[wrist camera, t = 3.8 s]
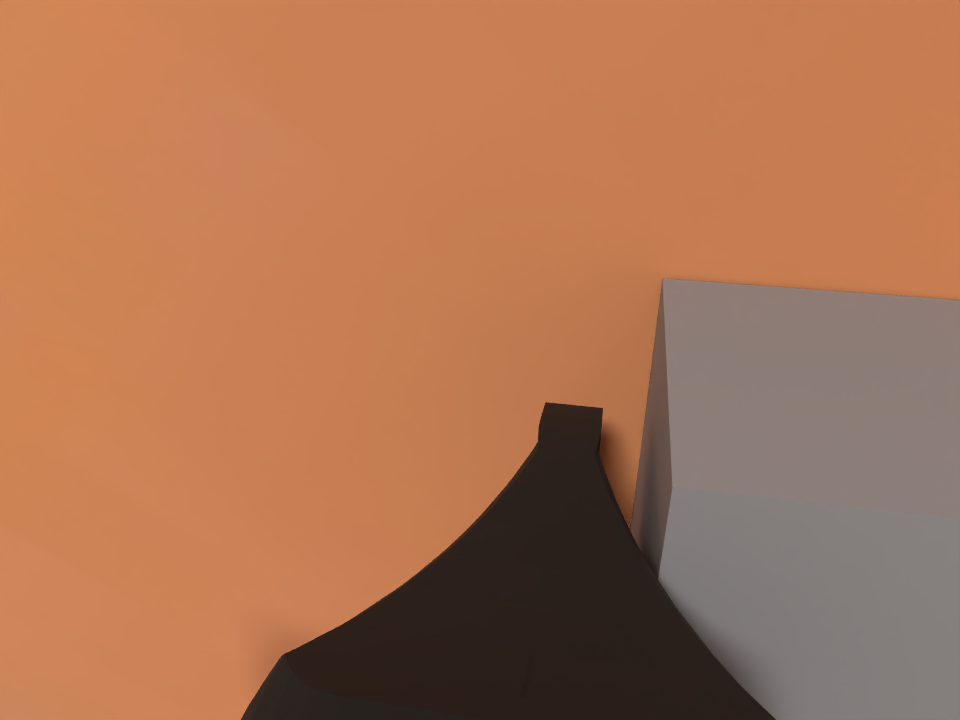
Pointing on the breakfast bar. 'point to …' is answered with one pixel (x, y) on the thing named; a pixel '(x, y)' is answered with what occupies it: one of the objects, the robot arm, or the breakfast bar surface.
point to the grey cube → (809, 493)
